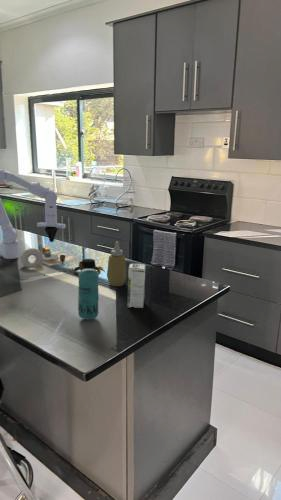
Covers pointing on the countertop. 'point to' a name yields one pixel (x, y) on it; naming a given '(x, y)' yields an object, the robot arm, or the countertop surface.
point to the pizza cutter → (49, 255)
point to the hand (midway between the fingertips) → (51, 241)
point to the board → (57, 261)
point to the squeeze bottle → (116, 267)
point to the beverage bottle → (88, 290)
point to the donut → (28, 253)
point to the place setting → (80, 266)
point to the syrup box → (136, 285)
